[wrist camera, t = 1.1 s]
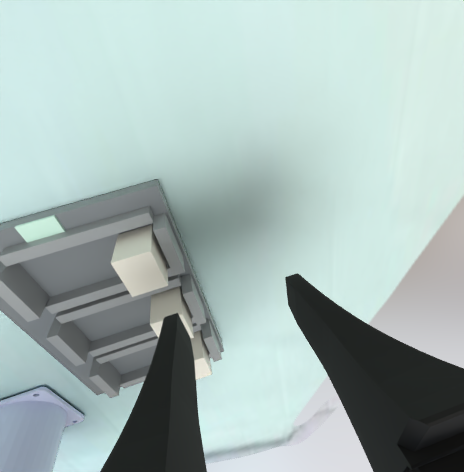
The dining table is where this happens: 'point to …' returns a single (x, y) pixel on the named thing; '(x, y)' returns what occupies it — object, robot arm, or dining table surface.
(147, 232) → the tab
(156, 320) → the tab
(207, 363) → the tab
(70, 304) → the switch bank
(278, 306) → the dining table surface
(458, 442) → the robot arm
